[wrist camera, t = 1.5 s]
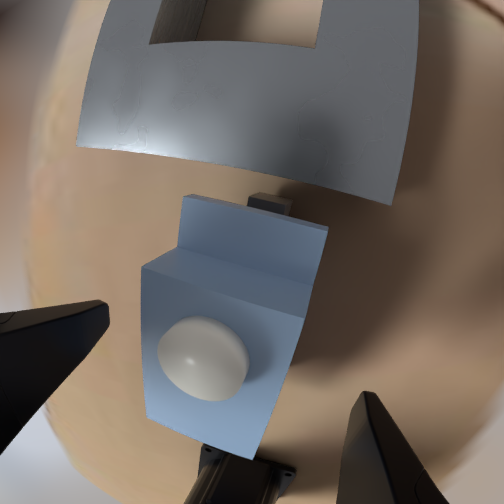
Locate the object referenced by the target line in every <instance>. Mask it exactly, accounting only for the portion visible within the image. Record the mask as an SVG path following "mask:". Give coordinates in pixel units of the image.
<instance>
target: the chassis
mask: <svg viewBox="0 0 504 504" xmlns="http://www.w3.org/2000/svg"><path fill="white" fill-rule="evenodd" d="M206 1H207V0H111V1H110V3H109V6H108V9H107V12H106V14H105V17H104V20H103V23H102V26H101V29H100V33H99V36H98V39H97V43H96V46H95V50H94V53H93V57H92V61H91V65H90V69H89V73H88V78H87V82H86V87H85V92H84V97H83V102H82V108H81V114H80V120H79V127H78V134H77V142H76V146H77V147H90V148H102V149H112V150H122V151H131V152H139V153H147V154H155V155H162V156H169V157H176V158H183V159H189V160H196V161H202V162H208V163H213V164H219V165H225V166H230V167H235V168H241V169H246V170H251V171H256V172H260V173H265V174H270V175H274V176H279V177H284V178H288V179H292V180H297V181H301V182H305V183H309V184H313V185H317V186H321V187H325V188H329V189H333V190H337V191H341V192H344V193H348V194H352V195H355V196H359V197H362V198H366V199H369V200H373V201H376V202H380V203H383V204H386V205H389V206H391V205H392V201H393V197H394V193H395V189H396V184H397V180H398V176H399V171H400V167H401V162H402V157H403V152H404V147H405V142H406V137H407V131H408V125H409V119H410V113H411V106H412V99H413V91H414V83H415V73H416V63H417V50H418V31H419V0H323V5H322V11H321V17H320V23H319V29H318V34H317V40H316V46H315V49H314V48H307V47H300V46H292V45H284V44H274V43H262V42H245V41H195V40H196V36H197V33H198V29H199V25H200V22H201V18H202V15H203V11H204V8H205V5H206Z"/></svg>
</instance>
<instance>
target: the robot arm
mask: <svg viewBox="0 0 504 504" xmlns="http://www.w3.org/2000/svg"><path fill="white" fill-rule="evenodd" d="M109 325H110V317H109V306H108V304H107V303H105V302H103V301H101V300H92V301H85V302H79V303H72V304H65V305H58V306H51V307H44V308H37V309H30V310H22V311H17V312H7V313H0V455H1V454H2V453H3V451H4V450H5V449H6V447H7V446H8V445H9V444H10V443H11V441H12V440H13V439H14V438H15V437H16V435H17V434H18V433H19V432H20V431H21V430H22V428H23V427H24V426H25V425H26V423H27V422H28V421H29V420H30V419H31V418H32V416H33V415H34V414H35V413H36V412H37V411H38V409H39V408H40V407H41V406H42V405H43V404H44V403H45V401H46V400H47V399H48V398H49V397H50V396H51V395H52V394H53V392H54V391H55V390H56V389H57V388H58V387H59V386H60V385H61V384H62V382H63V381H64V380H65V379H66V378H67V377H68V376H69V375H70V374H71V373H72V372H73V370H74V369H75V368H76V367H77V366H78V365H79V364H80V363H81V362H82V361H83V360H84V359H85V357H86V356H87V355H88V354H89V353H90V351H91V350H92V349H93V347H94V346H95V345H96V343H97V342H98V341H99V339H100V338H101V337H102V335H103V334H104V333H105V332H106V330H107V329H108V327H109ZM296 472H297V470H296V469H295V468H293V467H289V466H285V465H281V464H277V463H273V462H269V461H266V460H262V459H259V458H255V457H254V458H253V460H251V459H248V458H245V457H241V456H238V455H235V454H232V453H230V452H227V451H224V450H221V449H218V448H216V447H213V446H210V445H208V444H205V443H204V444H203V445H202V447H201V454H200V462H199V470H198V478H197V480H196V482H195V484H194V486H193V488H192V489H191V491H190V493H189V495H188V497H187V499H186V500H185V502H184V504H275V503H276V501H277V499H278V498H279V497H280V496H281V495H282V493H283V492H284V491H285V490H286V488H287V487H288V486H289V484H290V483H291V482H292V480H293V479H294V478H295V476H296ZM336 504H449V503H448V501H447V500H446V499H445V497H444V496H443V495H442V493H441V492H440V491H439V489H438V488H437V487H436V485H435V484H434V482H433V481H432V479H431V478H430V476H429V474H428V473H427V471H426V470H425V469H424V467H423V465H422V463H421V462H420V460H419V459H418V457H417V456H416V454H415V453H414V451H413V449H412V448H411V446H410V445H409V443H408V442H407V440H406V439H405V437H404V435H403V434H402V432H401V431H400V429H399V428H398V426H397V425H396V423H395V422H394V420H393V419H392V417H391V416H390V414H389V413H388V411H387V410H386V408H385V407H384V405H383V404H382V402H381V401H380V399H379V398H378V396H377V395H376V393H374V392H369V391H363V392H362V393H361V394H360V396H359V398H358V399H357V401H356V403H355V404H354V406H353V408H352V410H351V413H350V418H349V423H348V428H347V433H346V438H345V443H344V448H343V453H342V460H341V470H340V478H339V486H338V494H337V501H336Z"/></svg>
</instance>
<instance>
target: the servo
mask: <svg viewBox="0 0 504 504" xmlns="http://www.w3.org/2000/svg"><path fill="white" fill-rule="evenodd" d="M291 204H292V200H290V199H286V198H282V197H278V196H274V195H269V194H265V193H257V194H254V195H251V196H249V198H248V204H247V206H244V205H239V204H235V203H231V202H226V201H222V200H217V199H213V198H208V197H204V196H199V195H195V194H191V195H187V196H183V202H182V209H181V218H180V226H179V235H178V245H177V247H176V248H174V249H172V250H171V251H169V252H167V253H165V254H163V255H161V256H160V257H158V258H156V259H154V260H152V261H151V262H149V263H147V264H145V265H144V266H142V267H141V346H142V367H143V382H144V395H145V406H146V415H147V418H149V419H151V420H153V421H155V422H157V423H159V424H161V425H164V426H166V427H168V428H170V429H172V430H174V431H177V432H179V433H181V434H183V435H186V436H188V437H190V438H193V439H195V440H198V441H200V442H203V443H205V444H208V445H210V446H213V447H216V448H218V449H221V450H224V451H227V452H230V453H232V454H235V455H238V456H241V457H245V458H248V459H251V460H253V458H254V455H255V453H256V451H257V448H258V446H259V444H260V441H261V439H262V436H263V434H264V432H265V429H266V427H267V424H268V422H269V419H270V417H271V414H272V411H273V409H274V406H275V404H276V401H277V398H278V396H279V393H280V391H281V388H282V385H283V382H284V380H285V377H286V374H287V371H288V369H289V366H290V363H291V360H292V357H293V354H294V351H295V348H296V346H297V343H298V340H299V337H300V334H301V331H302V327H303V324H304V321H305V318H306V314H307V310H308V305H309V301H310V297H311V292H312V288H313V284H314V281H315V277H316V274H317V270H318V267H319V263H320V259H321V256H322V252H323V249H324V245H325V241H326V237H327V233H328V228H329V227H327V226H323V225H320V224H316V223H312V222H308V221H304V220H300V219H297V218H293V217H289V214H290V209H291Z"/></svg>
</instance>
